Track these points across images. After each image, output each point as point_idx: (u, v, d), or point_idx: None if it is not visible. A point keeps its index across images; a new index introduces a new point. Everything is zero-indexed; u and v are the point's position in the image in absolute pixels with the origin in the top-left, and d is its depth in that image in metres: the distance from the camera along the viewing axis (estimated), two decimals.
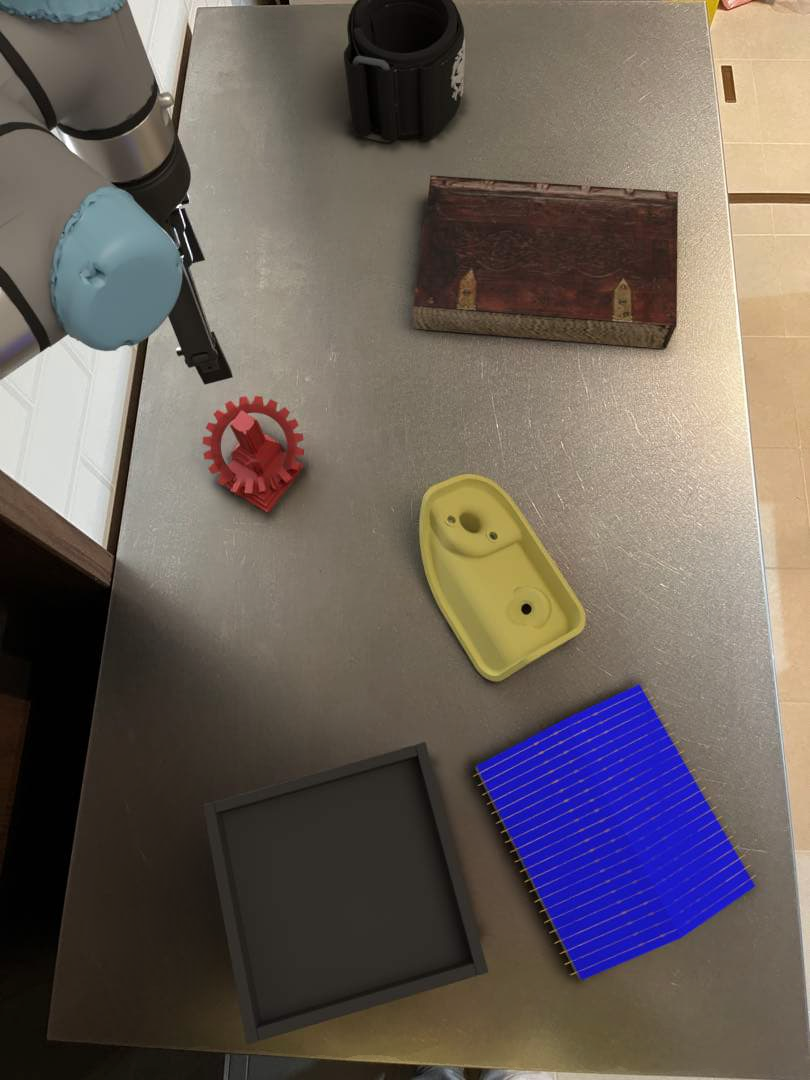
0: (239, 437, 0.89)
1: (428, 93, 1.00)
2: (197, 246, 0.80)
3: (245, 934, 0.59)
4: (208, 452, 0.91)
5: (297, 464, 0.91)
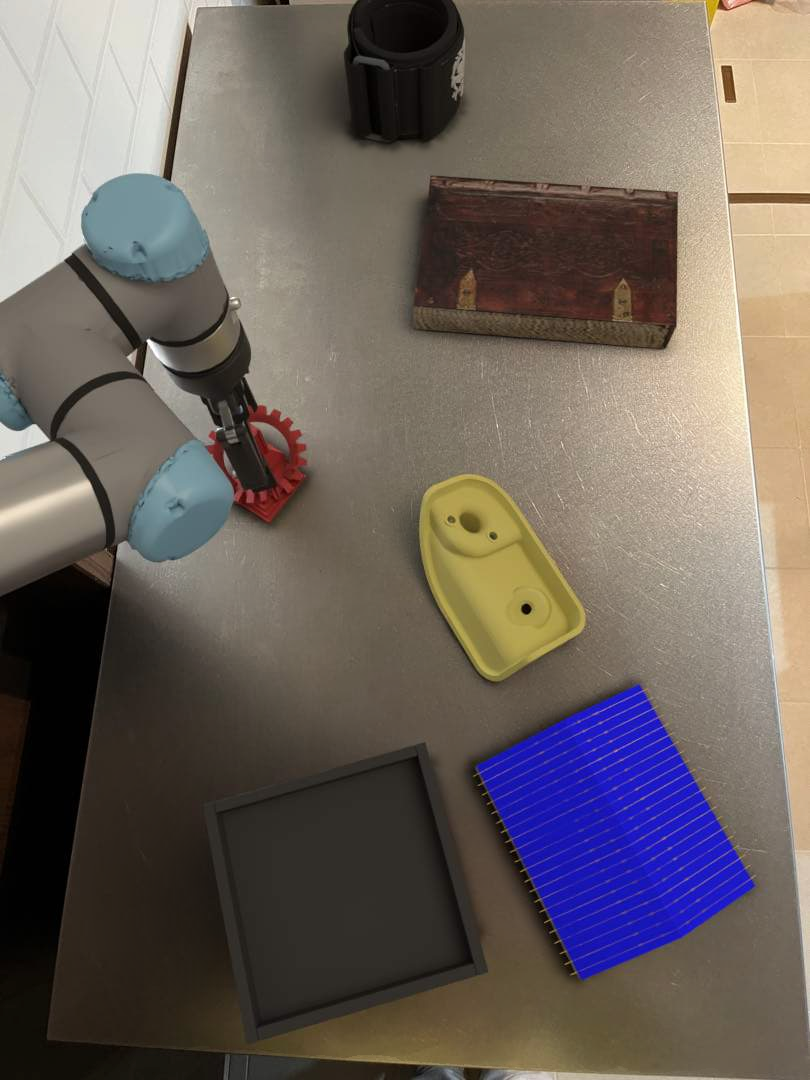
0: None
1: (428, 93, 1.00)
2: (253, 403, 0.91)
3: (245, 934, 0.59)
4: None
5: (299, 474, 0.91)
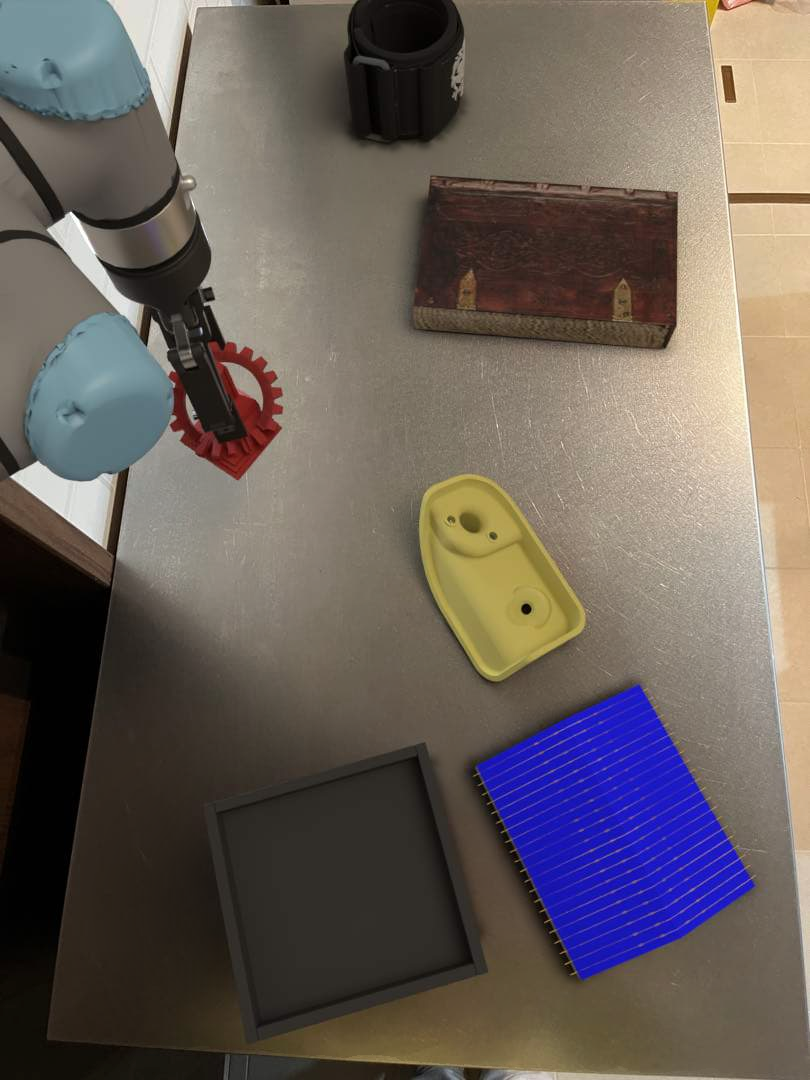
0: None
1: (428, 93, 1.00)
2: (221, 340, 0.78)
3: (245, 934, 0.59)
4: None
5: (274, 423, 0.78)
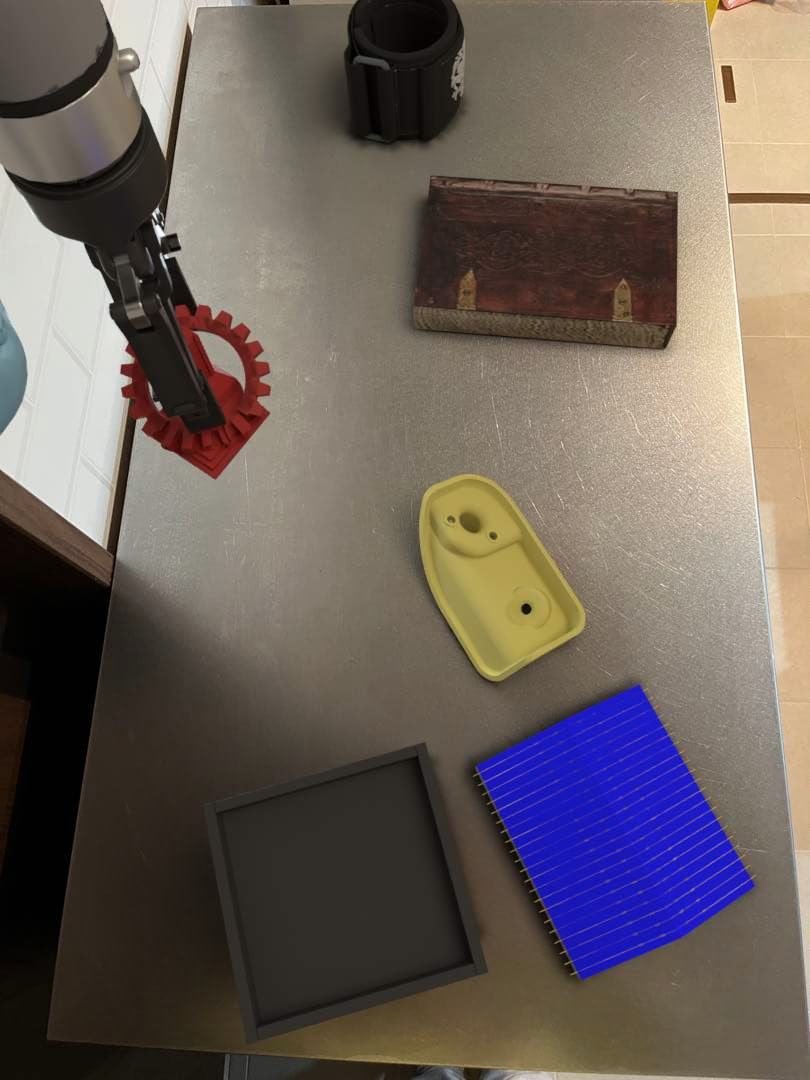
0: None
1: (428, 93, 1.00)
2: (191, 303, 0.62)
3: (245, 934, 0.59)
4: (128, 387, 0.61)
5: (260, 407, 0.62)
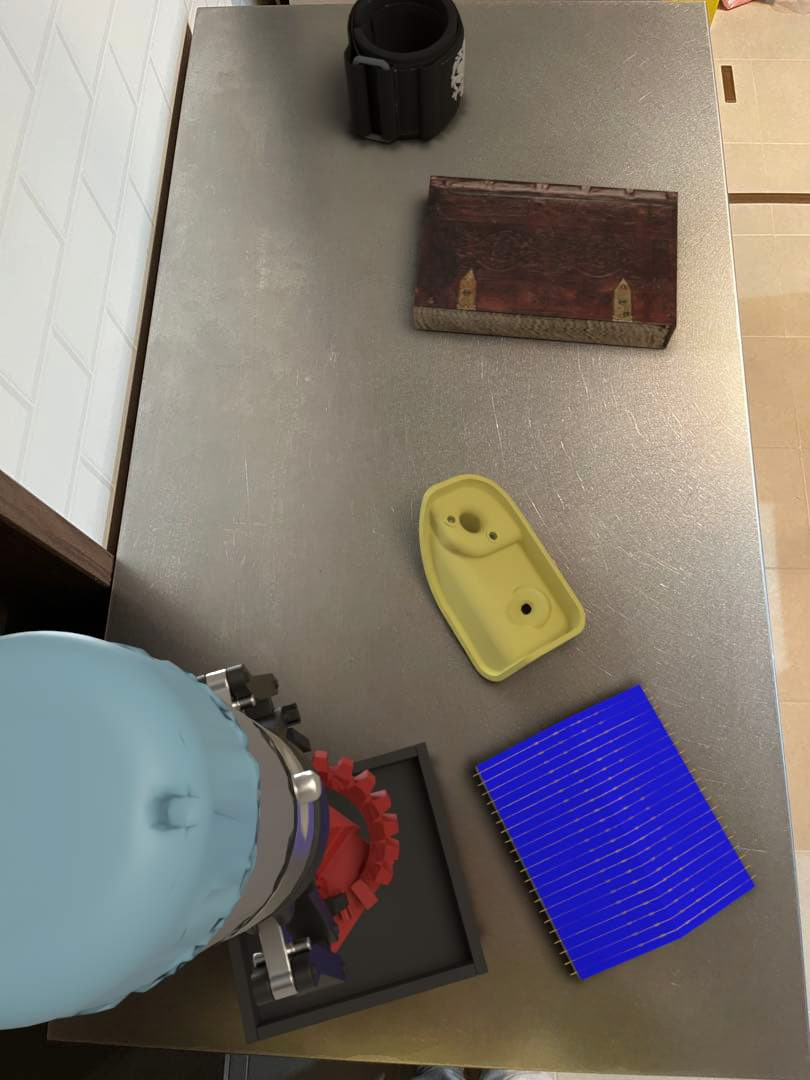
0: None
1: (428, 93, 1.00)
2: (303, 748, 0.51)
3: (245, 934, 0.59)
4: None
5: (387, 875, 0.51)
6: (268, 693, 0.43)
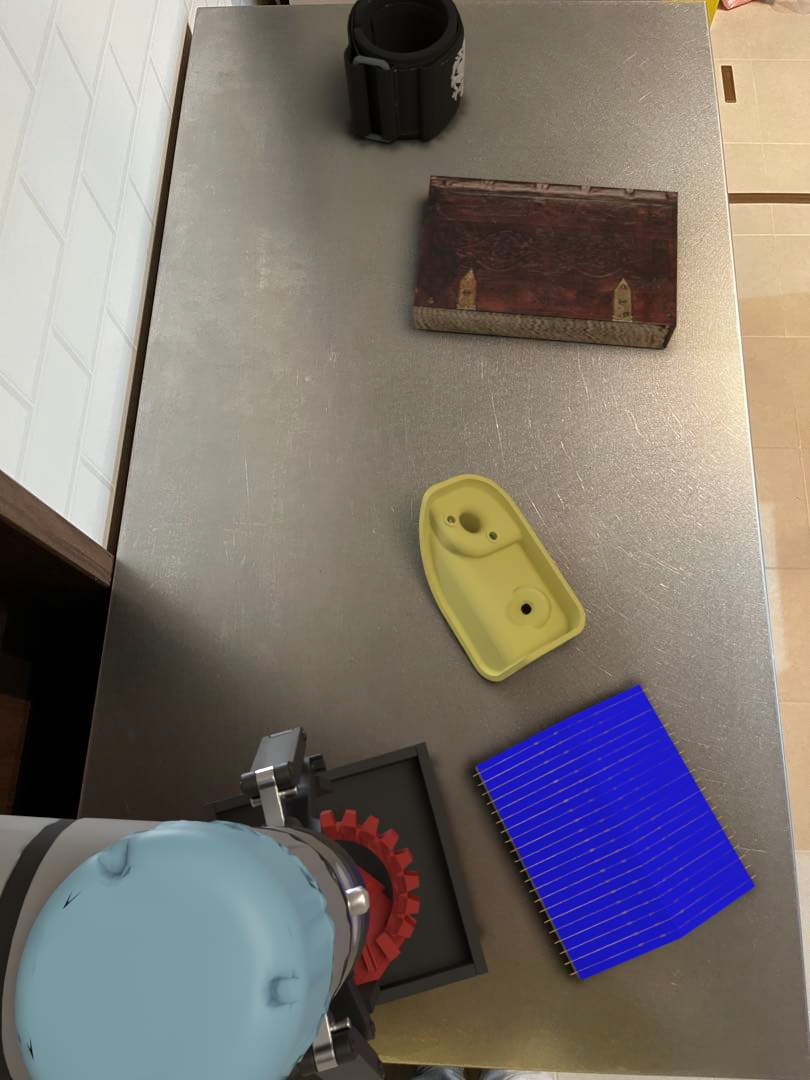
0: None
1: (428, 93, 1.00)
2: (327, 791, 0.55)
3: None
4: None
5: (409, 928, 0.56)
6: (302, 759, 0.48)
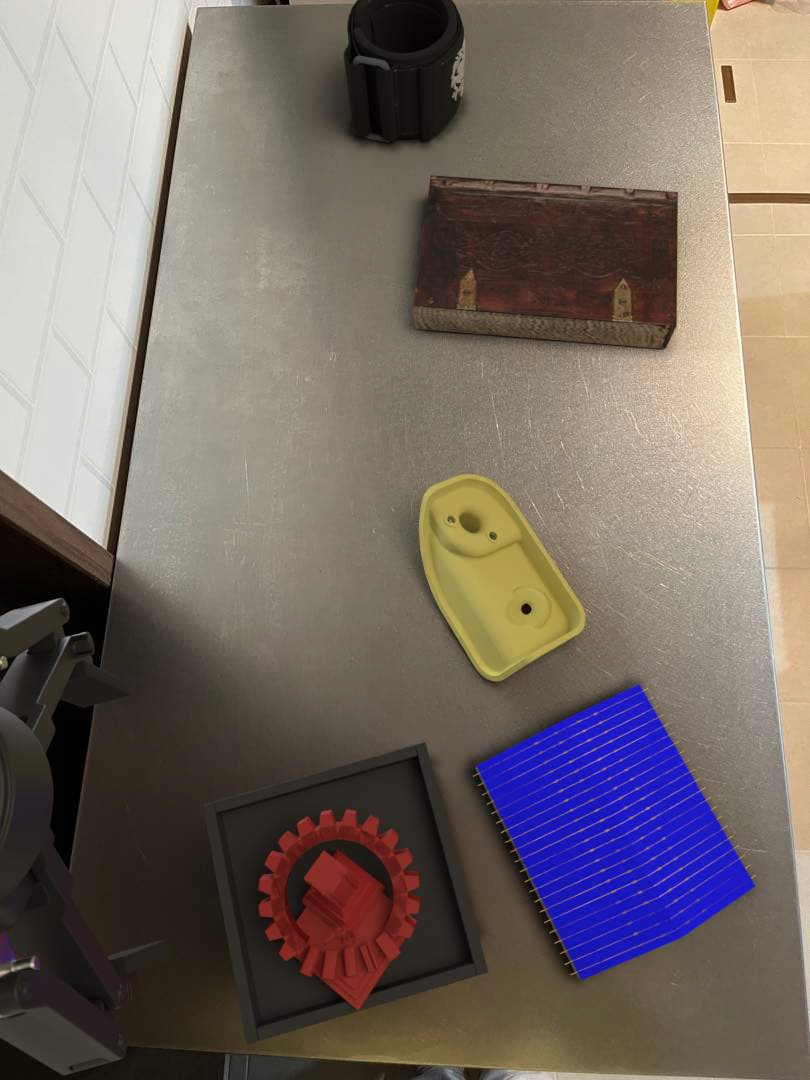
0: None
1: (428, 93, 1.00)
2: (113, 690, 0.45)
3: (245, 934, 0.59)
4: (267, 905, 0.56)
5: (409, 928, 0.56)
6: (44, 632, 0.38)
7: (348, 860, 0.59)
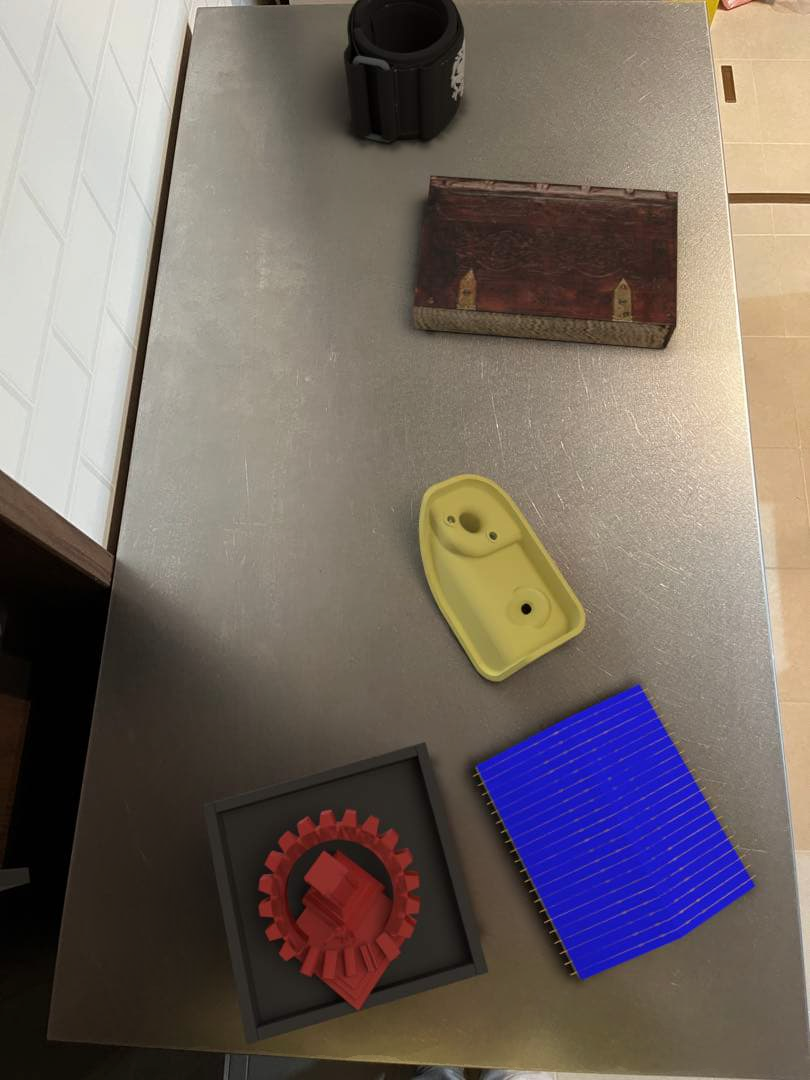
0: None
1: (428, 93, 1.00)
2: None
3: (245, 934, 0.59)
4: (267, 905, 0.56)
5: (409, 928, 0.56)
6: None
7: (348, 860, 0.59)
